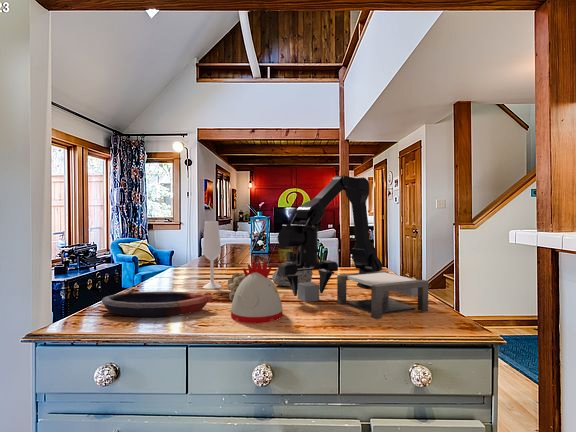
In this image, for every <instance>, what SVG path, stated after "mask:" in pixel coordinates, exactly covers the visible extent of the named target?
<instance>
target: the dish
mask: <svg viewBox="0 0 576 432" xmlns="http://www.w3.org/2000/svg"><path fill="white" fill-rule="evenodd" d="M212 301H213V296H212V295H211V294H210V295H209V294H204V293H199V292H189V291H134V290H128V291H126V292H124V293H116V294H112V295H108V296H105V297H103V298H102V299H101V302H102V304H103V306H104V308H105V310H107V311H108V312H109V313H110V314H111V313H112V314H116V315H120V316H127V317H134V318H135V317H137V318H138V317H140V318H142V317H143V318H155V317H156V318H158V317H161V318H163V317H176V316H182V315H183V316H184V315H187V314H192V313H195V312H198V311H200V310H202V309H203V308H205V307H206V305H207V304H208V302H209V303H211V302H212Z"/></svg>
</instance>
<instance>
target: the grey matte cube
mask: <svg viewBox="0 0 576 432" xmlns="http://www.w3.org/2000/svg"><path fill="white" fill-rule="evenodd" d="M297 299H298V300H300V301H302V302H303V303H308V302H309V303H310V302H317V301H320V284H318V283H316V282H312V281H311V282H306V283H298V289H297Z"/></svg>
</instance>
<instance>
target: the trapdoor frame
mask: <svg viewBox="0 0 576 432" xmlns="http://www.w3.org/2000/svg"><path fill="white" fill-rule="evenodd" d="M383 272H385V273H389V274H390V271H387V270H380V271H376V272H365V273H359V272H357V273H354V272H353V273H346V274H337V275H336V277H337V278H336V282H337V283H336V286H337V288H336V289H337V290H336V291H337V292H336V298H337V299H336V301H337V302H336V303H337V304H339V305H344V304H347V305H349V306H352V307H354V308H356V309H359V310H361V311H364V312H367V313H369V314H370V315H371V316H370V317H371V318H373V319H375V320H379V319H383V315H389V314H395V313H402V312H409V311H416V309H417V311H420V312H422V313H425V312H428V311H429V280H425V279H415V280H416V281H407V282H398V283H388V284H379V285H371V288H370V289H371V291H370V293H371V294H370V295H371V297H370V298H367V299H361V300H354V301H347V281H350V280H349V279H347V276H351V275H362V274H373V273H383ZM410 288H418V295H417V307H415V306H412V305H409V304H406V303H404V302H401V301H398V300H395V299H391V298H390V297H389V295H390V293H389V292H391V291H392V292H393V290H401V289H410Z"/></svg>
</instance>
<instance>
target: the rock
mask: <svg viewBox="0 0 576 432" xmlns="http://www.w3.org/2000/svg"><path fill="white" fill-rule="evenodd" d="M283 263H291V264H292V262H287V261H285V262H282V263H281V264H283ZM303 268H304V267H303ZM296 275H298V283H306V282H312V280H313V279H312V278H313V270H306V271H297V273H296ZM271 276H272V282H273V283H274V285H275V286H276V285H277V286H281V287H291V285H290V282H289V280H288V278H287V277H286V276H284V275H282V274H281V273H279V272H278V268H277V269H276V270H275V271H274V273H273V274H272V275H271Z"/></svg>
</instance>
